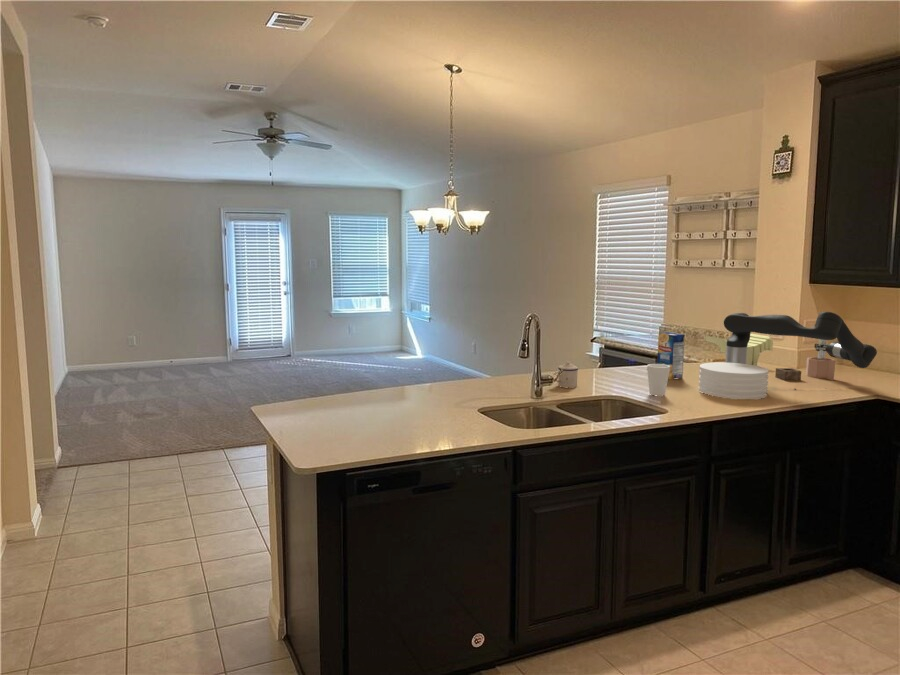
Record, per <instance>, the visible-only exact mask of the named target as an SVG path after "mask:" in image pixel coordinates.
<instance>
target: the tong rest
mask: <svg viewBox="0 0 900 675" xmlns="http://www.w3.org/2000/svg"><path fill="white" fill-rule="evenodd" d="M774 378H776V379H778V380H781V381H786V382H787V381H789V382H790V381H794V382H795V381H796V382H797V381H800V382H801V380H802V370H799V369H795V368H792V367H776V368H775V377H774Z"/></svg>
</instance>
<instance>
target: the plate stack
mask: <svg viewBox="0 0 900 675" xmlns="http://www.w3.org/2000/svg"><path fill="white" fill-rule="evenodd" d="M769 372H770V369H768V368H766V367H763V366H760V365H757V366H755V365H749V364H741V363H725V361H724V362H723V361H721V362H720V361H719V362H715V361H714V362H705V363H701V364H699V370H698V374H699V376H698V388H697V389H699V391H701V392H703V393H706V394H709V395H713V396H718V397H717V398H719V397H723V398H722V399H726V398H731V399H730V400H737V399H755V400H761V398H762V399H765V398H767V397H766V396H768V386H769V382H768V380H769ZM699 391H698V392H699ZM703 393H702V394H703ZM709 395H708V396H709ZM713 396H712V397H713Z"/></svg>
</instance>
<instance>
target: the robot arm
mask: <svg viewBox="0 0 900 675" xmlns="http://www.w3.org/2000/svg"><path fill="white" fill-rule="evenodd" d="M723 325H724V328H725V329H726V330H727V331H728V332H730V333H731V336H730V337H729V338H728V339H726V340H727V346H726V353H725V361H724V363H741V364H746V361H747V345H748V342H749V340H750V334H752V333H755V334H757V333H758V334H761V335H762V334H763V335H764V334H765V335H770V336H771V335H772V336H780V337H781V336H785V337H787V336H788V337H801V338H809V339H815V340H819V339H822V340H827V341H833V340H836V339H837V341H833V342H831V343H826V344H822V345H821V344H818V343H814V346H813V347H814V349H815V351H816V352H818V351H820V350H821V351H824V352H826V354H828V355H829V356H830V357H831V358H834V359H839V360H846V361H849V362H851V363H852V364H854V366H855V367H857V368H860V369H866V368H868V367H869V366H870V365H871V363H872V362H873V360H874V359H875V358H876V356H877V353H878V350H877V349H876V347H874V346H873V345H871V344H867V343H866V344H865V343H863V341H862V342H861V341H860V339H858V338H857V337H856V336H855V335H854V334H853V333H852V331H851V330H850V328H849V327H848V326H847V324H846V322H845V321H844V320H843V318H842V317H841V316H840V315H839V314H837V313H834V312H831V311H822V312H820V313H819V314H818V316H817V317H816V320H815V323H814V326H813V327H806V326H803V325H802V324H801V323H800V322H798V321H797V320H796V319H795V318H793V317H792V316H790V315H787V314H764V315H754V316H753V315H751V316H750V315H749V314H747V313H746V312H745V313H744V312H734V313H730V314H728V315H727V316H726V317H725V318H724V319H723ZM821 346H822V347H821Z"/></svg>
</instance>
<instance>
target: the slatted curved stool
mask: <svg viewBox="0 0 900 675" xmlns="http://www.w3.org/2000/svg"><path fill="white" fill-rule="evenodd" d="M727 340H728V339H725V338H723V337H722V338H721V337H717V336H710V335H705V341H706V342H709V343H712V344H713V345H717V346H718V347H719V350H720V353H722V354H726V346H727ZM773 347H774V341H773V339H772V337H770V336H768V335H764V334H763V335H762V334H757V333H750V340H749V342H748V345H747V361H746V364H749V365H755V366H758V361H759V358H760V356H761V355H760V354H762V353H763V352H765V351H771V352H773V349H774V348H773Z"/></svg>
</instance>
